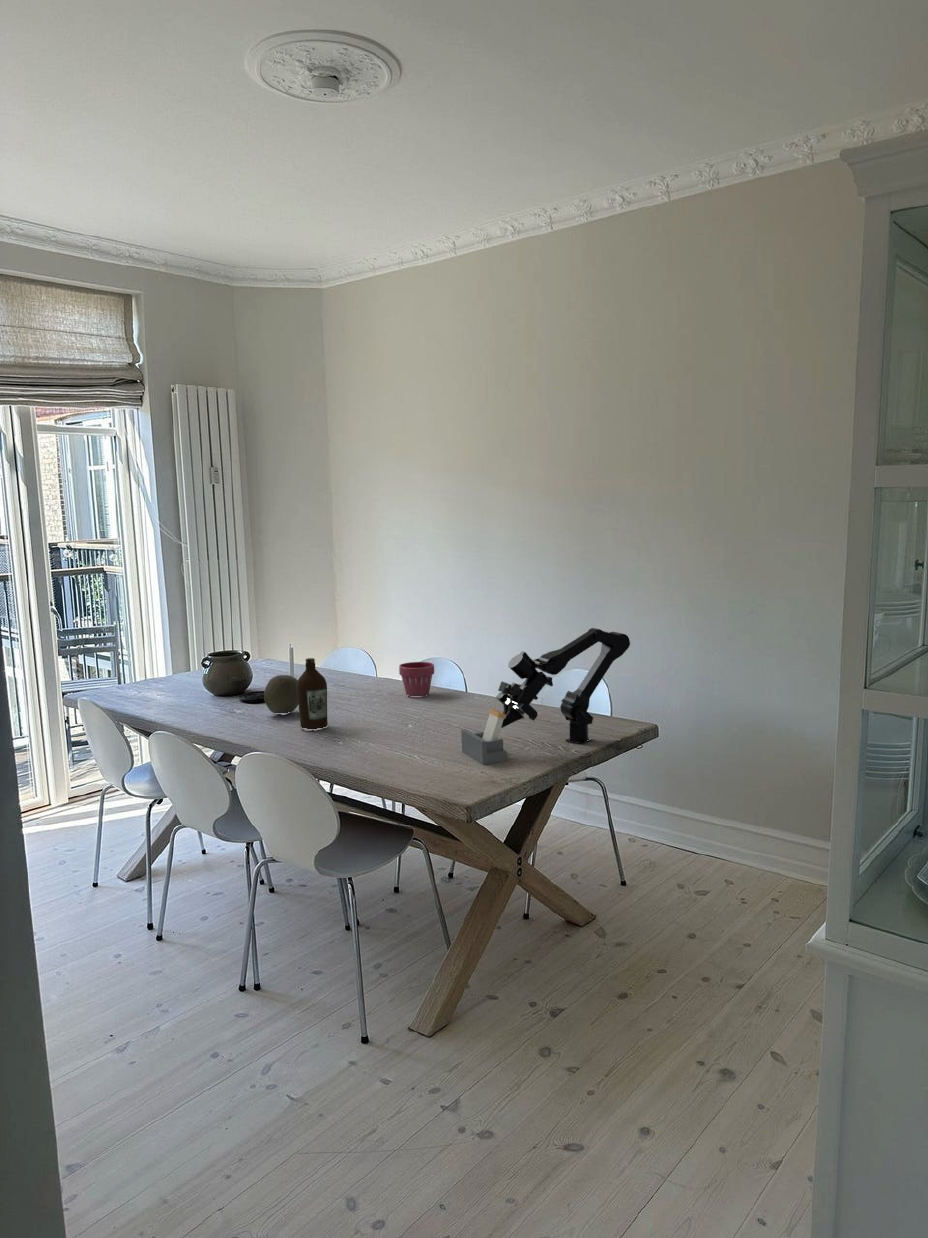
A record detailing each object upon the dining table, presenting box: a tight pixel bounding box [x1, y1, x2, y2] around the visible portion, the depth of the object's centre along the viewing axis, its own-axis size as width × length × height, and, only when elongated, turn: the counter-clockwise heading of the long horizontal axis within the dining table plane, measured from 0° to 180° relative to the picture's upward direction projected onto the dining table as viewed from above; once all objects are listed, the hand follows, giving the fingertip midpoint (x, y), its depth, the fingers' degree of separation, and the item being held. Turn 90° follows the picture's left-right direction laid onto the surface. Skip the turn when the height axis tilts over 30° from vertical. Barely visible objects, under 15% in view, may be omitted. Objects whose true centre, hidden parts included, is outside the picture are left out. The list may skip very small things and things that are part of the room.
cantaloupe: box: [263, 674, 299, 714], centre depth 330 cm, size 14×14×15 cm
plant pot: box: [398, 661, 435, 697], centre depth 353 cm, size 14×14×13 cm
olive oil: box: [296, 657, 329, 729], centre depth 306 cm, size 11×11×25 cm
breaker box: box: [460, 728, 508, 765], centre depth 266 cm, size 8×16×7 cm, turn 23°
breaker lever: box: [482, 708, 506, 741], centre depth 267 cm, size 3×7×10 cm, turn 22°
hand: (499, 727), depth 268 cm, fingers closed
